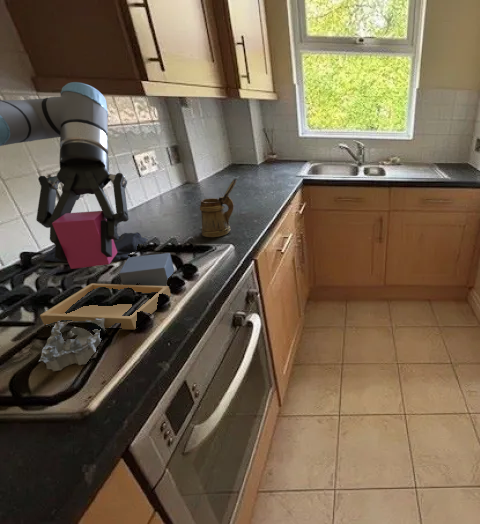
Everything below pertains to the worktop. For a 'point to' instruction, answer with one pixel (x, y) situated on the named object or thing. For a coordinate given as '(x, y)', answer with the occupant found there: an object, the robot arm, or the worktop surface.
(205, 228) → the wooden mug
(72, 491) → the worktop surface
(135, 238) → the dark slate chunk
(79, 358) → the grey lumpy chunk
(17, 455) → the worktop surface
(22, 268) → the worktop surface
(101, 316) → the tray
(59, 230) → the pink block
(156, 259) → the grey block
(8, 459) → the worktop surface
